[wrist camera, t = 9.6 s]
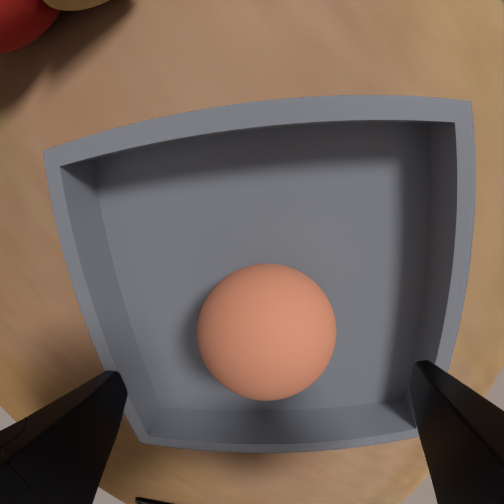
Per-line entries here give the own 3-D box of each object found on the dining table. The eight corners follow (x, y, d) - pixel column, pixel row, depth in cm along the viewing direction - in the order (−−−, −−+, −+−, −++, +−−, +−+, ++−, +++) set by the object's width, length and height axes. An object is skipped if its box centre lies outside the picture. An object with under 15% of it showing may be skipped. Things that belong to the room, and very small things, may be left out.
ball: (328, 343, 14) (341, 424, 10) (222, 349, 15) (199, 427, 10) (326, 240, 13) (348, 297, 8) (203, 250, 13) (163, 309, 9)
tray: (412, 398, 16) (425, 435, 13) (155, 408, 18) (140, 442, 15) (436, 106, 11) (471, 101, 8) (83, 145, 13) (42, 150, 10)
